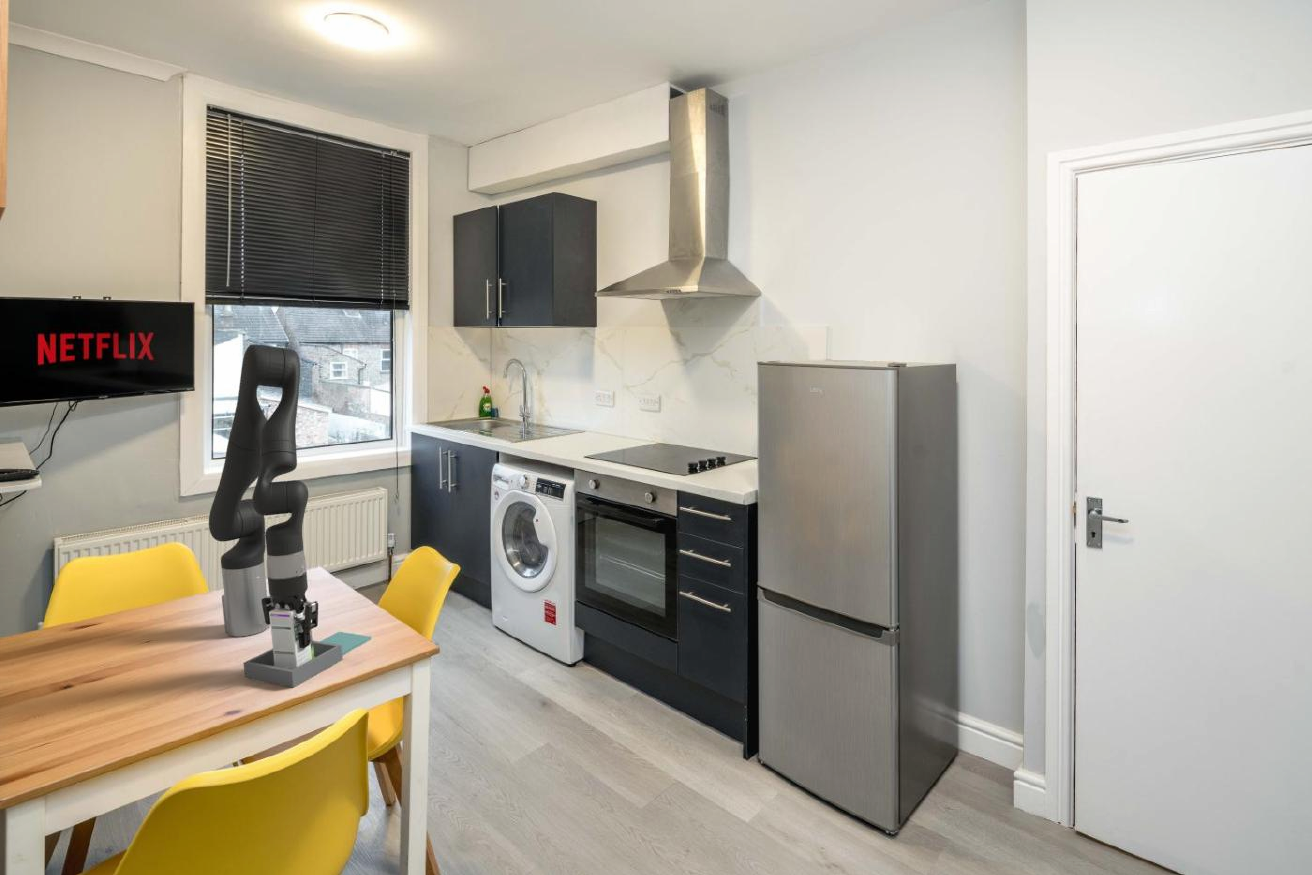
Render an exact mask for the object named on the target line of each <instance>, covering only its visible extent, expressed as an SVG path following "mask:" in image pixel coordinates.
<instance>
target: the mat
mask: <svg viewBox="0 0 1312 875" xmlns="http://www.w3.org/2000/svg"><path fill="white" fill-rule="evenodd" d="M371 640H372V636H368V635H363V634H362V635H361V634H355V633H350V632H345V631H344V632H343V631H338V632H335V633H333V634H332V635H330V636H328V637H326V638H323V639H322V640H320V641H319V642H325V643H331V644H337V645H342V656H344V655H346V654H347V653H350V652H351V651H353V650H354V649H356V648H358V647H360V646H362V645H363V644H366V643H367V642H369V641H371Z"/></svg>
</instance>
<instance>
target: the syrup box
mask: <svg viewBox="0 0 1312 875" xmlns="http://www.w3.org/2000/svg"><path fill="white" fill-rule="evenodd" d="M295 614H296V616H297V618H300V617H302V616H304V610H303V612H302V613H300V614H297V613H296V611H295V610H292V611H288V610H286V609H285V608H281V609H274V610H271V611H270V612H269V617H270V626H269V627H270V633H271V644H272V649H273V654H274V663H275V665H274V666H275V667H280V668H286V669H291V670H293V669H295V668H296V667H298V666H300V665H302V664H304V663H306V662H308V661H310V660H311V659H313V658H315V657H314V647H313V641H314V639H313V629H311V630H310V639H311V642H310V645H309V646H307V647H305V648H300V647H299V636H298V633H299V630H298V628H297V624H296V623H295V621H294V615H295ZM301 623H302V625H303V626H304V625H305V624H304V622H303V620H302V621H301Z"/></svg>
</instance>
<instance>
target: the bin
mask: <svg viewBox="0 0 1312 875" xmlns="http://www.w3.org/2000/svg"><path fill="white" fill-rule="evenodd" d="M313 647H314V658H313V659H311V660H310V661H308V662H306V663H304V664H302V665H300V666H298V667H296V668H295V669H293V670H291V669H286V668H280V667H275V663H274V654H273V648H271V649H269V650H267V651H265V652H263V653H261V654H259V655H257V656H254V657H253V658H251V659H249V660H247V661H245V662H243V674H244V679H246V680H251V681H257V682H263V683H267V684H273V685H277V686H283V687H287V688H288V687H289V688H295V687H297V686H299V685H300V684H303V683H304V682H306V681H309V679H311V678H314V677H315V676H317V675H318V674H320V673H322V672H324V671H326V670H328V669H329V668H331V667H333V666H335V665H336V664H338V663H339V662H341V661H343V655H342V645H337V644H331V643H325V642H320V641H318V640H313Z"/></svg>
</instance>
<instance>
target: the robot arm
mask: <svg viewBox="0 0 1312 875" xmlns="http://www.w3.org/2000/svg"><path fill="white" fill-rule="evenodd" d="M300 361H301V360H300V357H299V355H298V353H297V351H296V350H295V349H291V348H287V347H286V348H285V347H278V346H273V345H271V346H270V345H263V344H256V343H255V344H250V345H249V346H248V347H247V348H246V349H245V351H244V354H243V359H242V363H241V364H242V365H241V370H240V378H239V385H238V386H239V387H238V394H237V401H236V402H237V403H236V406H235V407H236V408H235V412H234V416H233V421H232V423H231V424H232V425H231V428H230V432H229V435H228V436H229V437H228V442H227V446H226V450H225V457H224V458H225V459H224V464H223V468H222V472H221V476H220V480H219V484H218V487H217V490H216V492H215V496H214V499H213V502H212V503H211V504H212V505H211V508H210V510H209V514H208V528H209V533H210V535H211V537H212V538H213V539H214V540H216V541H218V542H223V543H224V542H230V541H235V540H238V541H237V542H236V544H235V545H233V547H232V548H230V549H229V550H227V551H226V552H224V553H223V554H222V555H221V557H220V566H221V574H222V576H221V577H222V585H223V594H222V596H221V603H222V614H223V623H224V624H223V625H224V632H226V633H227V634H228V636H230V637H247V636H252V635H253V636H254V635H256V634H259V633H262V632H264V631H266V630H267V629H269V628H270V627H271V626H270V617H269V612H270V611H271V610H274V609H281V608H285V609H286V610H288V611H292V610H295V611H296V613H297V614H300V613H302V612H303V610H304V616H302V617H300V618H297V616H296V614H295V615H294V621H295V623H296V624H297V628H298V630H299V633H298V636H299V647H300V648H305V647H307V646H309V645H310V642H311V639H310V630H311V629H312V630H313V629H314V628H317V627H318V625H319V602H318V601H316V600H315V601H313V602H311V601H309V600H308V599H307V597H306V592H307V591H308V588H309V586H308V573H307V563H306V562H307V561H306V555H305V550H304V541H303V540H304V539H303V525H304V524H303V523H304V517H305V514H306V513H305V512H306V509H307V504H308V501H309V500H308V499H309V489H308V487H307V484H305V482H303V481H302V480H297V479H295V480H293V479H292V480H291V479H290V480H282V481H274V479H276V478H277V477H279V476H283V475H285V474H289V473H291V472H293V471H295V470H296V468H297V466H298V456H297V441H296V425H297V423H296V422H297V415H298V414H297V413H298V407H299V406H298V404H299V393H300V382H301V381H300V380H301V379H300V378H301V362H300ZM259 386H261V387H270V388H278V389H279V388H280V389H282V392H281V399H280V400H279V403H278V405H277V407H275V410H274V411H273V412H272V414H271V415H270V416H269V418H267V417H266V415H265V414H264V413H265V412H264V411H263V410H262V406H261V405H260V402H259V400H258V394H257V392H258V388H259ZM255 481H256V484H255V485H254V486H255V487H254V489H253V494H252V497H251V498H248V499H247V498H246V499H245V498H244V499H243V497H244V495H245V493H246V492H247V490H248V489H249V487H251V486H252V484H254V482H255ZM286 514H290V517H289V518H288V519H287V520H285V521H283V522H280V523H276V524H273V525H271V526H269V527H267V528H266V524H265V523H266V521H265V520H266V519H265V516H275V515H286ZM265 552H266V566H265ZM266 572H267V573H266ZM266 575H267V576H266ZM267 587H268V589H267ZM302 620H303V622H304V624H305V625H304V626H303V625H302V623H301V621H302Z"/></svg>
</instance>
